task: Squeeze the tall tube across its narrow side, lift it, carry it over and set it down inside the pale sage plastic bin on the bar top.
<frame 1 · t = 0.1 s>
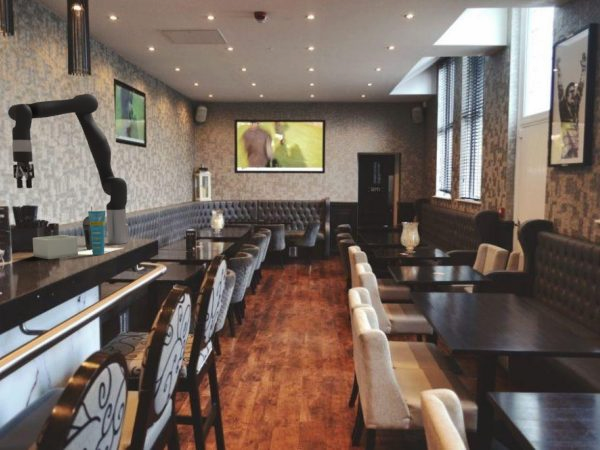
hand: (24, 188, 237), 29 cm above the table, fingers open, 8 cm apart
tube: (98, 255, 237), on the table
beverage cup: (91, 249, 255), on the table
bin: (56, 255, 234), on the table
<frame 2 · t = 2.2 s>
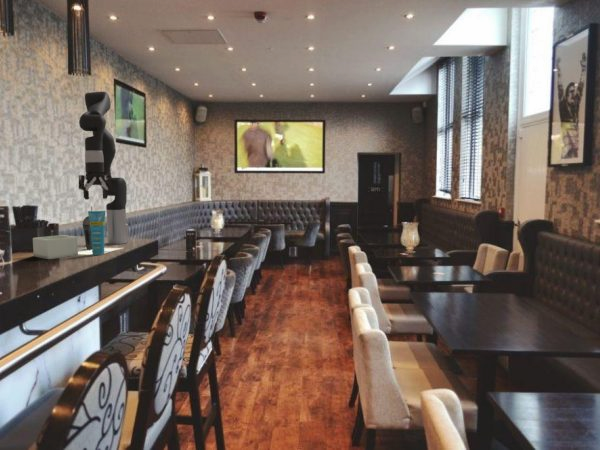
hand: (95, 199, 235), 24 cm above the table, fingers open, 8 cm apart
nothing on the table moved.
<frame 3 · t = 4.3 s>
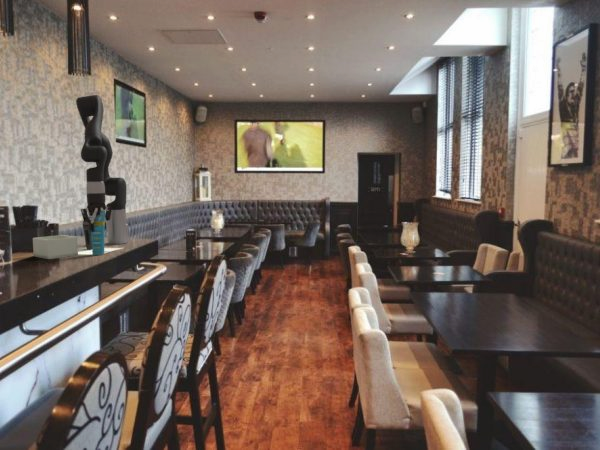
hand: (97, 231, 236), 10 cm above the table, fingers closed on tube, 4 cm apart
tube: (98, 254, 237), on the table, touching gripper
everything else where it was.
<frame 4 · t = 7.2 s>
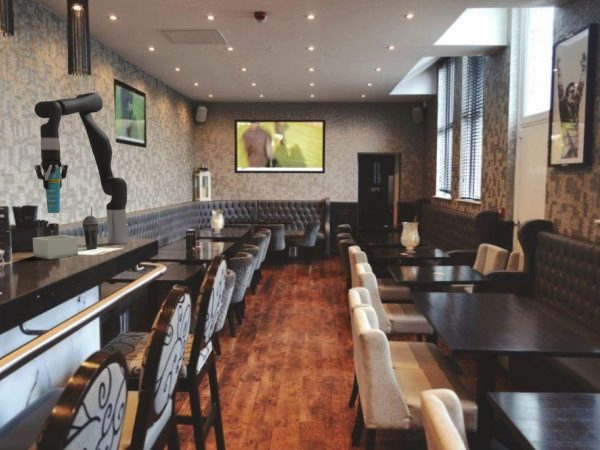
hand: (52, 188, 232), 29 cm above the table, fingers closed on tube, 4 cm apart
tube: (54, 213, 233), point 18 cm above the table, touching gripper
everything else where it was.
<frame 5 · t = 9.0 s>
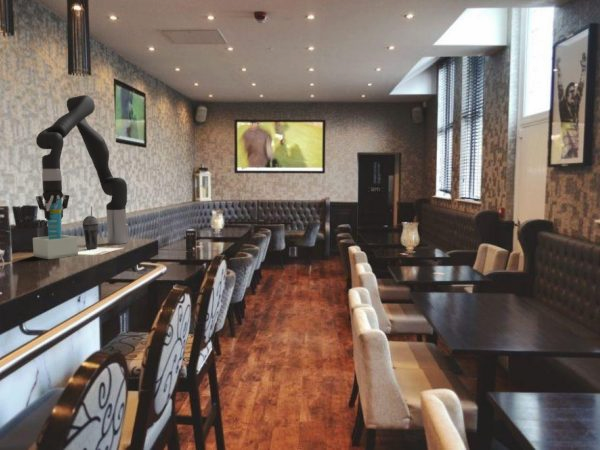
hand: (54, 219, 233), 16 cm above the table, fingers closed on tube, 4 cm apart
tube: (55, 243, 234), point 5 cm above the table, touching gripper
everything else where it was.
when the fingers open (13 cm above the table, at t = 10.4 s): tube drops 2 cm, resting on bin.
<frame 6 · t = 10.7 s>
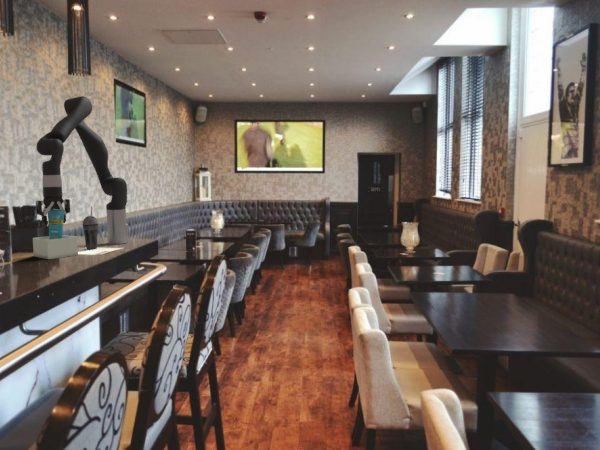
hand: (54, 223, 233), 14 cm above the table, fingers open, 7 cm apart
tube: (56, 253, 235), point 1 cm above the table, touching bin
everything else where it was.
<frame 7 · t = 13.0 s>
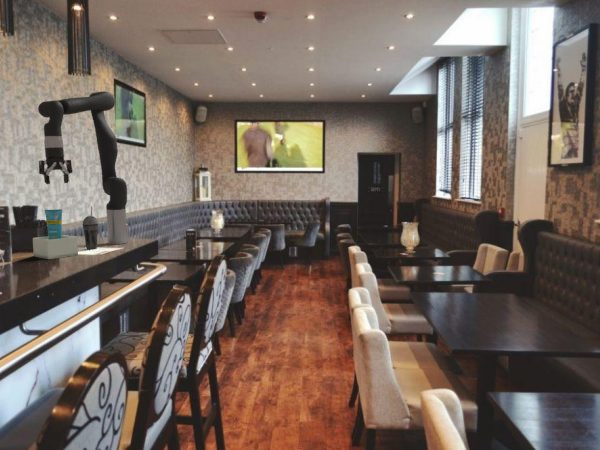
hand: (57, 183, 241), 31 cm above the table, fingers open, 8 cm apart
nothing on the table moved.
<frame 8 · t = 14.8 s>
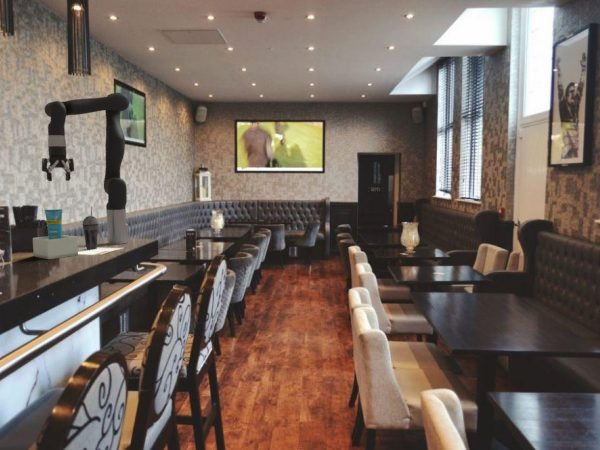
hand: (58, 180, 251), 32 cm above the table, fingers open, 8 cm apart
nothing on the table moved.
at the end: tube inside the target area on the bin (0.1 cm from its centre), point 0.8 cm above the bin's base; the gripper is holding nothing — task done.
